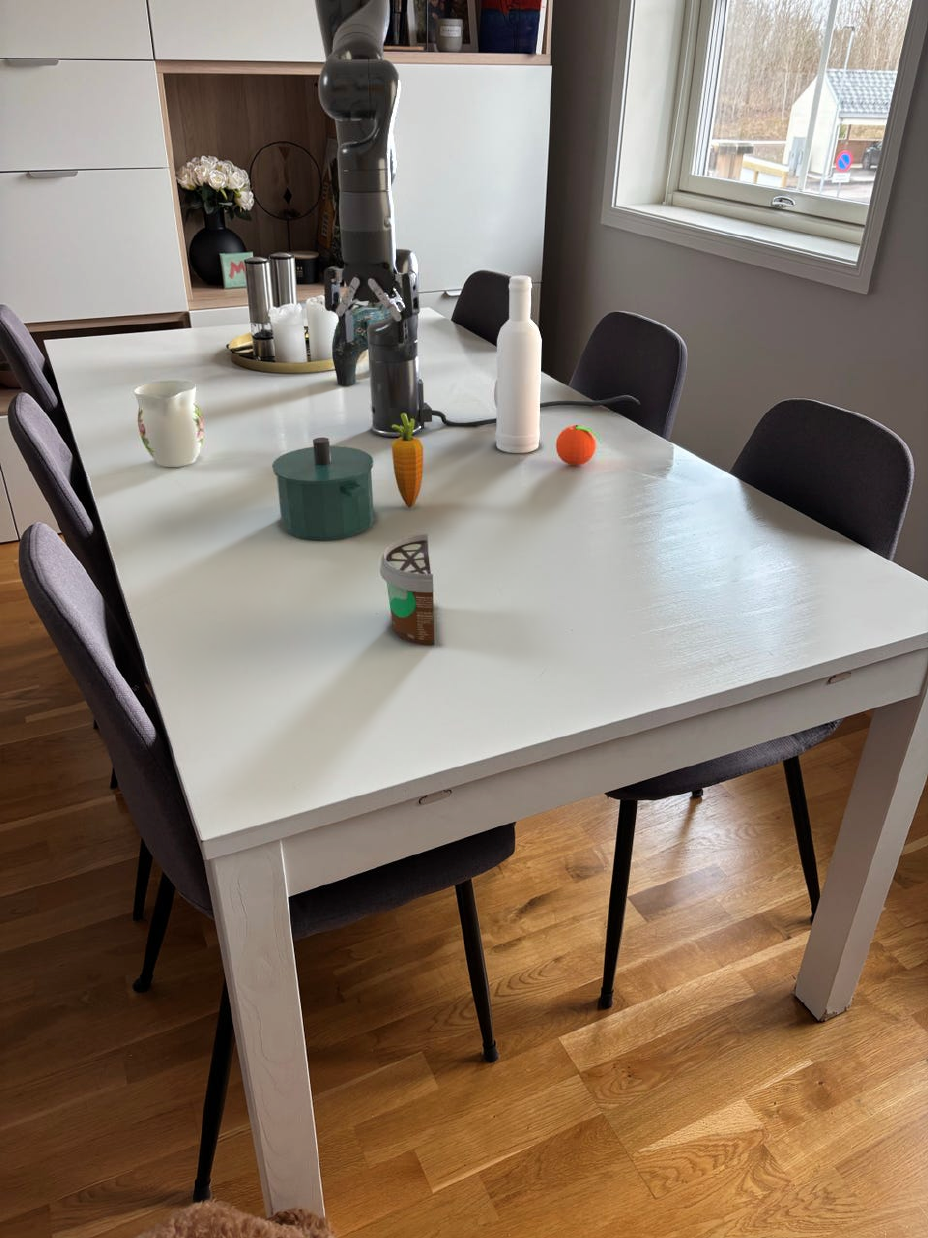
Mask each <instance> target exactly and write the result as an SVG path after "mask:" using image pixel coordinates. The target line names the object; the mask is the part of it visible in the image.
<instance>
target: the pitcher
mask: <svg viewBox="0 0 928 1238" xmlns="http://www.w3.org/2000/svg"><path fill="white" fill-rule="evenodd" d="M196 389H197V387H196V384H195V383H193V382H189V381H186V380H160V381H154V382H150V383H149V382H148V383H145V384H142V385H140V386H138V387H136V388H135V389H134V390H133V393H134V396H135V398H136V401H137V404H138V410H137V427H138V432H139V435H140V438H141V440H142V443H143V445H144V447H145V449H146V451H147V452H148V454H149V456H150V457H151V458H152V459H153V460H154V461H155V462H156V463H157V464H158V465H159V466H160V467H164V468H181V467H184V466H189V465H191V464H193V463H194V462H195V461H196V460H197V458H198V456H199V455H200V452H201V450H202V446H203V441H204V422H203V421H204V420H203V415H202V411H201V410H200V407H199V405H198V403H197V401H196Z"/></svg>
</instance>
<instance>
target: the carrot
mask: <svg viewBox="0 0 928 1238" xmlns="http://www.w3.org/2000/svg"><path fill="white" fill-rule="evenodd" d="M401 418H402V421H403V424H404V427H405V429H404V427H403V426H400V427H399V426H397V425H392V428H393V429H395V430H397V431H398V432H399V433H400V434H401V436H402V437H397V438H396V439H394V440H393V441H392V443H391V454H392V464H393V472H394V476H395V481H396V485H397V490H398V492H399V494H400V497H401V499H402V501H403V502H404V504H405V506H406V507H408V508H412V507H413V506H414V505H415V503H416V501H417V499H418V497H419V494H420V492H421V486H422V482H423V481H422V480H423V473H424V447H423V446H424V445H423V443H422V441H421V440H420V439H419V437H415V436H413V435H412V432H413V429H414V421H415V420H414V419H411V420H410V423H409V422H408V418H407V416H406V414H405V413H402V414H401Z"/></svg>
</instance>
